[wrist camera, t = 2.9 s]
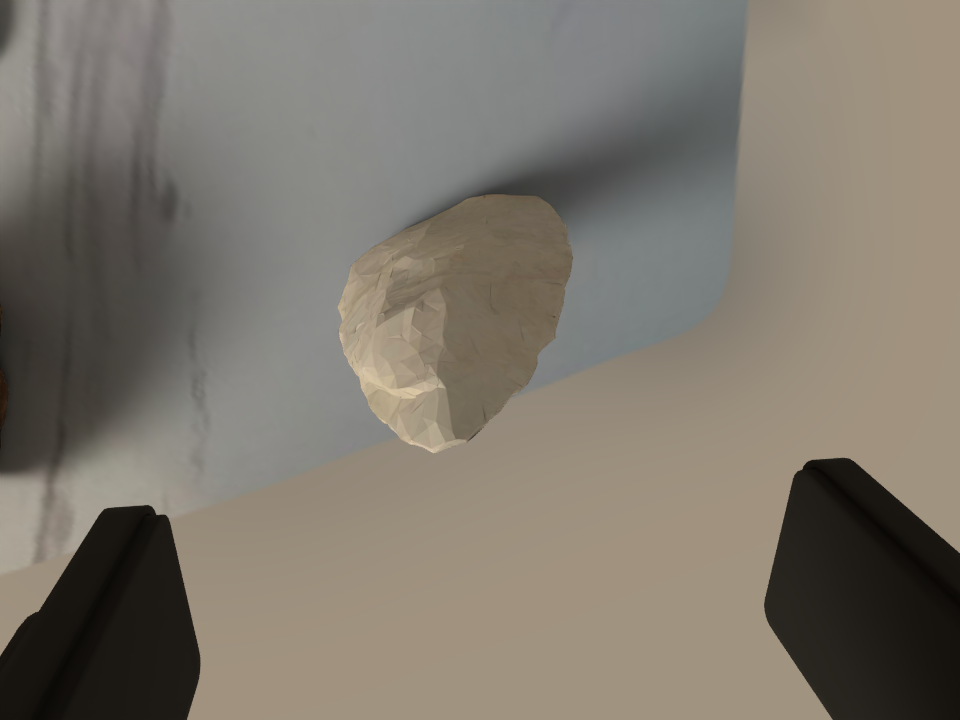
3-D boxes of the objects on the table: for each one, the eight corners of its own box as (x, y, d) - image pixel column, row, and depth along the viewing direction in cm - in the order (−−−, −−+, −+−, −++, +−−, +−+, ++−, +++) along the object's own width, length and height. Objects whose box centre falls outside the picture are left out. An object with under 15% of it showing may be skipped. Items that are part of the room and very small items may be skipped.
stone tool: (364, 313, 28) (334, 564, 14) (327, 248, 27) (255, 457, 13) (552, 223, 27) (708, 398, 14) (523, 152, 26) (664, 267, 12)
